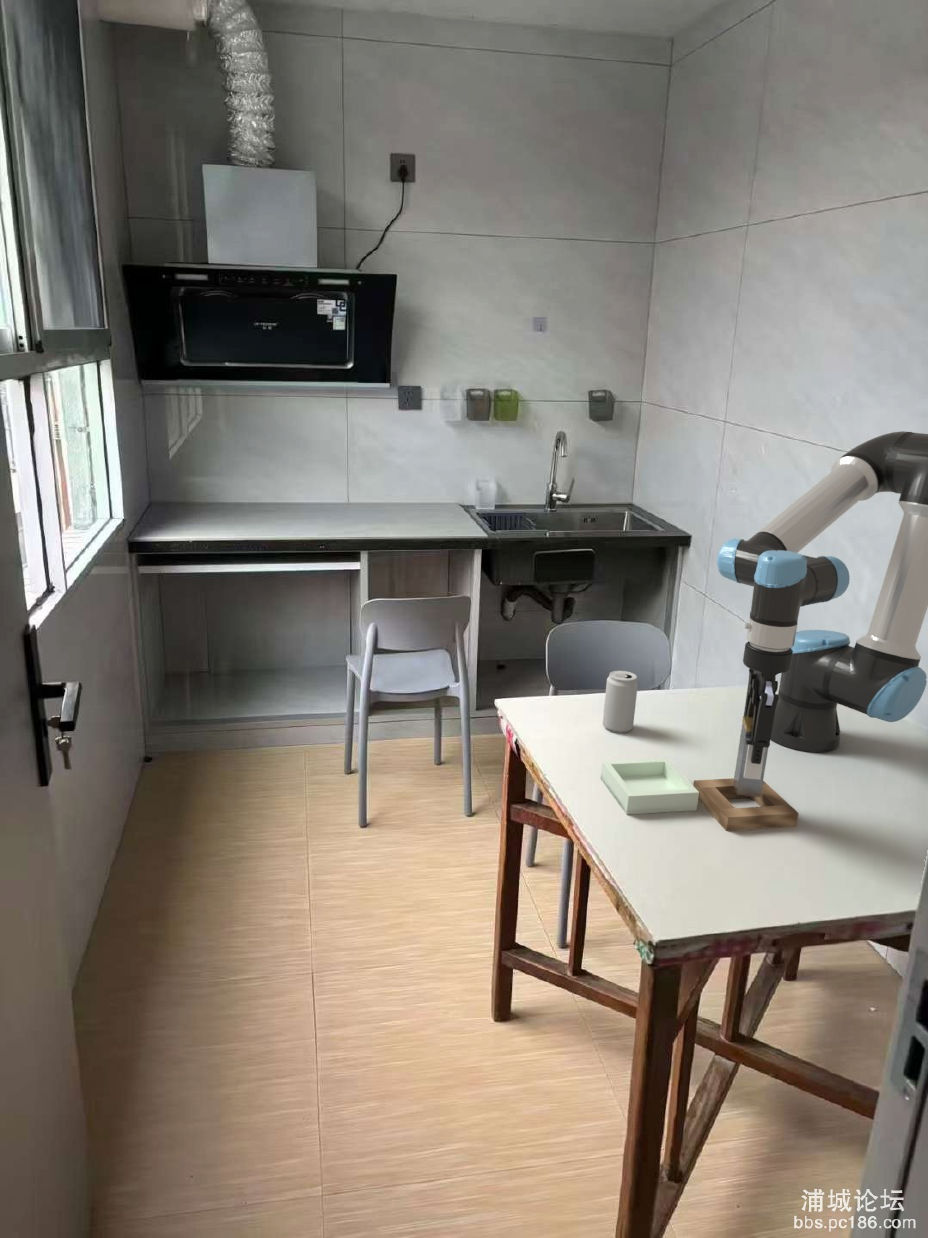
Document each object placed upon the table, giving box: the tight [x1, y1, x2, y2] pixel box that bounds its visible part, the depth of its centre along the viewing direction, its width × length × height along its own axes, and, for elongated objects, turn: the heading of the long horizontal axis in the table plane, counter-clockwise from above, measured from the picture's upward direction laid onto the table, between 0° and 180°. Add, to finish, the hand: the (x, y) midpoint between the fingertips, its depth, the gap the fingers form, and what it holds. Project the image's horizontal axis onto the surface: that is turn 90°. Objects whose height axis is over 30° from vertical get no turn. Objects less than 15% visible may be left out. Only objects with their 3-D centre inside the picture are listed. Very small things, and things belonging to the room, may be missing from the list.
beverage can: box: [602, 670, 639, 734], centre depth 181 cm, size 6×6×12 cm
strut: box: [733, 715, 769, 797], centre depth 150 cm, size 4×4×13 cm
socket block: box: [692, 778, 799, 832], centre depth 152 cm, size 13×13×2 cm
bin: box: [600, 758, 699, 815], centre depth 156 cm, size 13×13×4 cm
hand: (749, 771), depth 151 cm, fingers closed on strut, 4 cm apart
